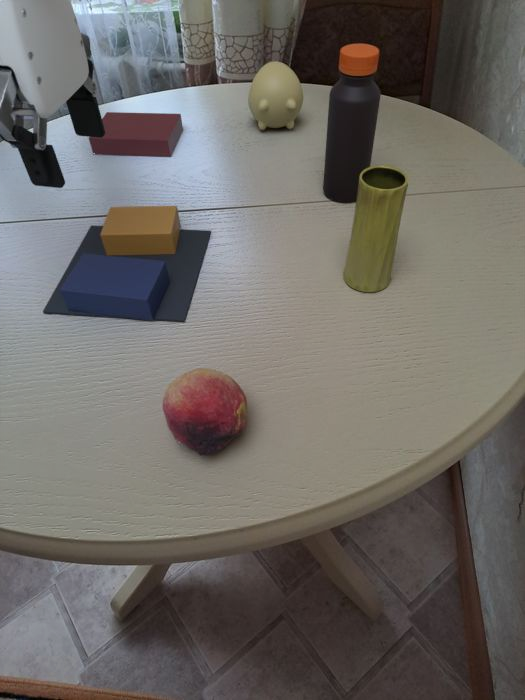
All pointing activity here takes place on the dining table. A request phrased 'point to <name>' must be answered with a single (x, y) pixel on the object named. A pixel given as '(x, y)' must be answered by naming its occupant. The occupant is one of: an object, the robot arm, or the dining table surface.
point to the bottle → (351, 122)
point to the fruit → (205, 410)
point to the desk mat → (179, 265)
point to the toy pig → (275, 96)
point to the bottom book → (138, 134)
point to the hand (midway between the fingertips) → (71, 158)
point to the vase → (375, 228)
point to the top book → (141, 230)
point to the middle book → (116, 286)
